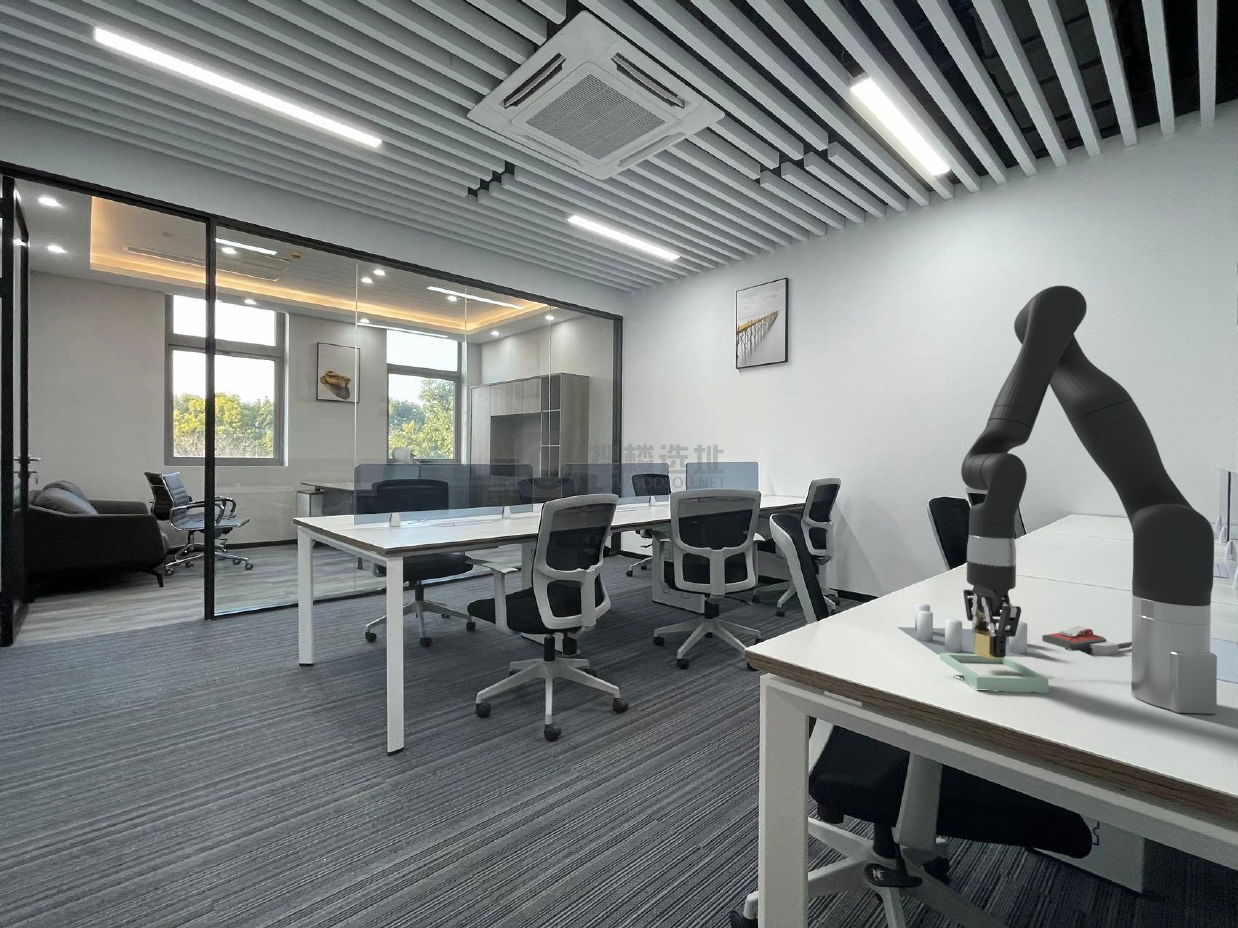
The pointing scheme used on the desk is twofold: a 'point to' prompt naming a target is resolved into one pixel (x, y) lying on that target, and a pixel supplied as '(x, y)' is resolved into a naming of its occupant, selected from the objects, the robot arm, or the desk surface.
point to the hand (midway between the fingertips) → (989, 651)
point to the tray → (1000, 683)
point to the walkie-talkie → (1084, 641)
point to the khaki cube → (983, 644)
